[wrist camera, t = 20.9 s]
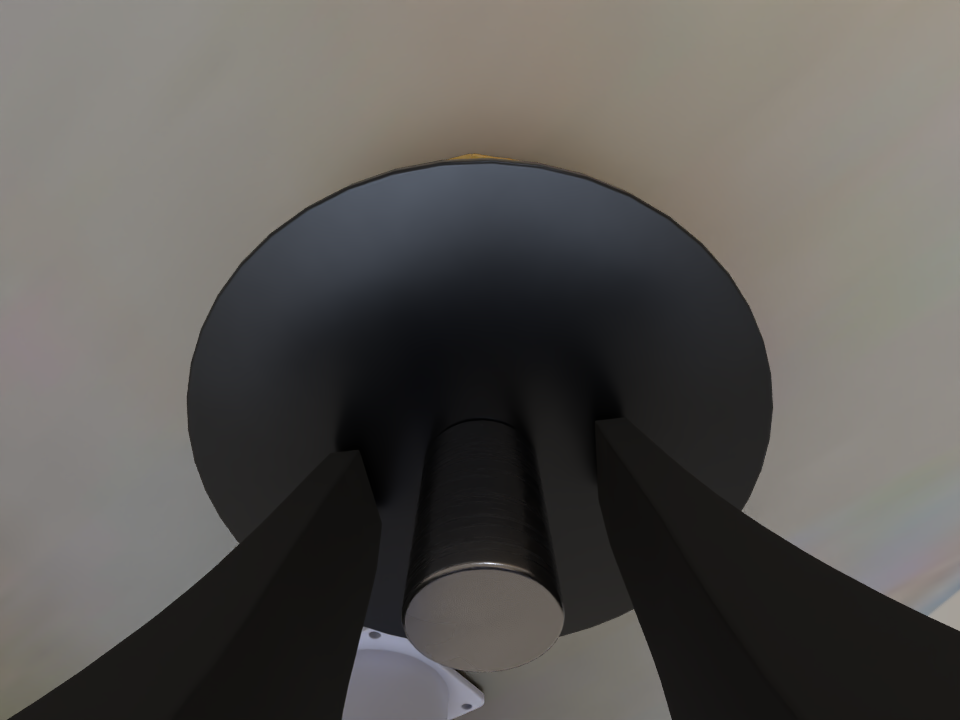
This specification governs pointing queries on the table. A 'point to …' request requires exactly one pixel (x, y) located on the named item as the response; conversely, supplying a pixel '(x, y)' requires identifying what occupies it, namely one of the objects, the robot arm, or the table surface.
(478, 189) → the lid
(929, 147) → the table surface
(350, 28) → the table surface
